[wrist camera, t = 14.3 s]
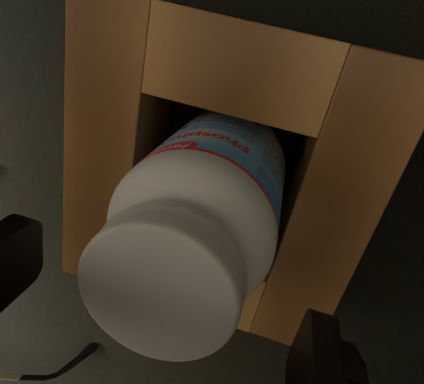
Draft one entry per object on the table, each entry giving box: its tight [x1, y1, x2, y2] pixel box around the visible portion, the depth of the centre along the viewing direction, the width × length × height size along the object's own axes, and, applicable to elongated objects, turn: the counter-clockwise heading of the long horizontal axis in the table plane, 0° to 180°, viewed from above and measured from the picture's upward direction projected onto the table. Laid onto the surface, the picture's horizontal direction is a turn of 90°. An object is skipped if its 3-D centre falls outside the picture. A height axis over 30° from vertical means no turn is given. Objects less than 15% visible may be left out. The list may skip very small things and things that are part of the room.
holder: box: [63, 0, 424, 346], centre depth 17 cm, size 14×14×4 cm
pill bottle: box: [77, 110, 286, 362], centre depth 14 cm, size 6×6×11 cm
